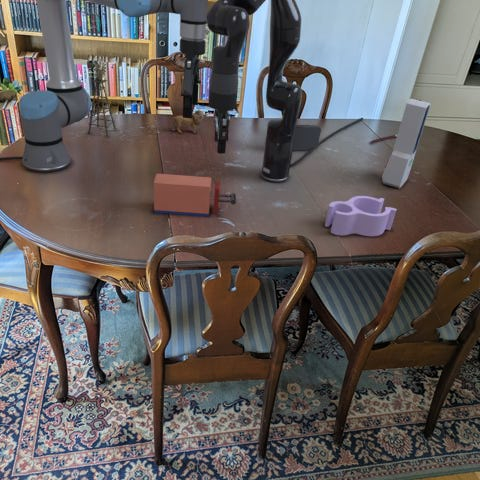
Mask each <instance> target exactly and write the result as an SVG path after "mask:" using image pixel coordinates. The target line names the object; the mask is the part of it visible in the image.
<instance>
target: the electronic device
mask: <svg viewBox="0 0 480 480" xmlns="http://www.w3.org/2000/svg"><path fill="white" fill-rule="evenodd" d="M431 105H432V103H431V102H428V101H423V100H418V99H414V98H409V99H408V100H407V101H406V104H405V107H404V110H403V113H402V118H401V120H400V124H399V127H398V131H397V134H398V135H397V137H395V138H396V139H395V142H394V146H393V148H392V153H391V154H390V157H389V160H388V162H387V164H386V166H385V169H384V171H383V173H382V175H381V181H382V183H383V185H387V186H390V187H393V188H396V189H401V188H402V187H403V186H404V184H405V183H406V182H407V180H408V179H409V175H410V173H411V169H412V167H413V162H414V160H415V156H416V152H417V149H418V146H419V143H420V141H421V136H422V134H423V130H424V127H425V124H426V120H427V118H428V115H429V111H430V109H431Z"/></svg>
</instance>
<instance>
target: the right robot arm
mask: <svg viewBox="0 0 480 480" xmlns="http://www.w3.org/2000/svg"><path fill="white" fill-rule="evenodd" d="M265 2H266V0H216V1H215V2H214V3H213V4H212V5H211V7H210V8H209V9H208V11H207V23H206V27H207V28H208V31H210V32H211V33H212V34H215V35H219V36H223V37H227V39H226V43H225V44H221V45H216V46H214V47H213V49H212V52H211V65H210V67H211V68H210V75H209V89H208V106H209V107H210V108H211V109H213V110H214V112H213V124H214V125H213V126H214V127H213V128H214V139H213V140H214V142H217V146H216V147H217V148H216V152H217V154H222V155H223V154H226V149H227V142H228V141H229V131H230V121H231V115H230V113H229V112H230V111H233V110H235V109H236V108H237V105H238V104H237V103H238V94H239V93H238V92H239V91H238V90H239V68H240V57H241V53H242V51H243V48H244V47H243V46H244V44H245V41H246V38H247V35H248V33H249V29H250V23H251V22H250V21H251V20H250V16H252V15H254V14H255V13H256V12H257V11H258V10H259V9H260V7H262V5H263V4H264V3H265ZM301 32H302V15H301V11H300V8H299V5H298V4H297V1H296V0H270V17H269V60H268V72H267V82H266V91H265V100H266V101H265V102H266V105H267V107H269V108H270V109H271V110H277V111H279V112H283V115H282V117H277V118H272V119H270V120H269V121H268V122H267V128H266V136H265V144H264V152H263V159H262V167H261V172H260V176H261V178H262V179H263V180H265V181H268V182H271V183H282V182H285V181H287V179H288V178H289V175H290V170H291V167H294V166H295V165H297V164H299V163H300V162H301V161H303V160H304V159H306V157H307V156H308V155H310V154H311V153H312V152H314V150H315V149H314V148H312V149H311V150H307V152H306V153H305V154H303V155H302V156H301V157H300V158H298V159H297V160H295V161H294V162H293V163H292V157H293V151H291V148H292V142H293V136H294V130H295V126H296V125H297V123H298V118H299V113H300V109H301V103H302V98H303V90H302V87H301V86H300V85H299V84H294V83H292V82H289V81H288V82H287V81H284V80H283V76H284V75H283V74H284V69H285V67H286V64H287V62H288V61H289V59H290V58H291V57H292V55H293V54H294V52H295V51H296V49H298V46H299V45H300V42H301ZM362 120H364V117H361V118H359V119H357V120H355V121H353V122H351V123H349V124H347V125H344V126H343V127H341V128H339V129H337V130H336V131H334V132H332V133H330V134H329V135H327V136H326V137H324V138H323V139H321V141H319V144H318V147H319V146H320V145H322V144H323V143H324V142H326V141H327V140H329V139H331V138H332V137H333V136H334V135H336V134H338V133H339V132H341V131H343V130H345V129H347V128H349V127H351V126H352V125H355V124H357V123H359V122H361V121H362Z"/></svg>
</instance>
